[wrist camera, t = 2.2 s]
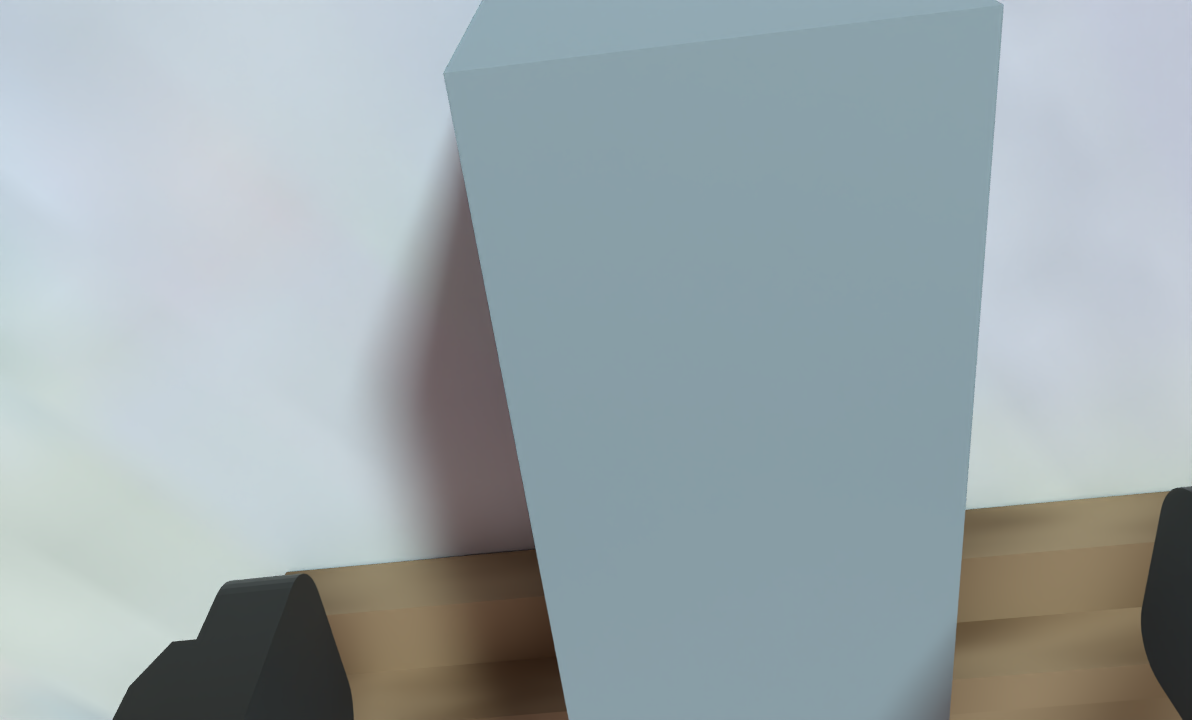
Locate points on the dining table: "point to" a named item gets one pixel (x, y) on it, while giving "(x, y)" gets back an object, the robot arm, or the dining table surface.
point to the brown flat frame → (982, 646)
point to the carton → (738, 337)
